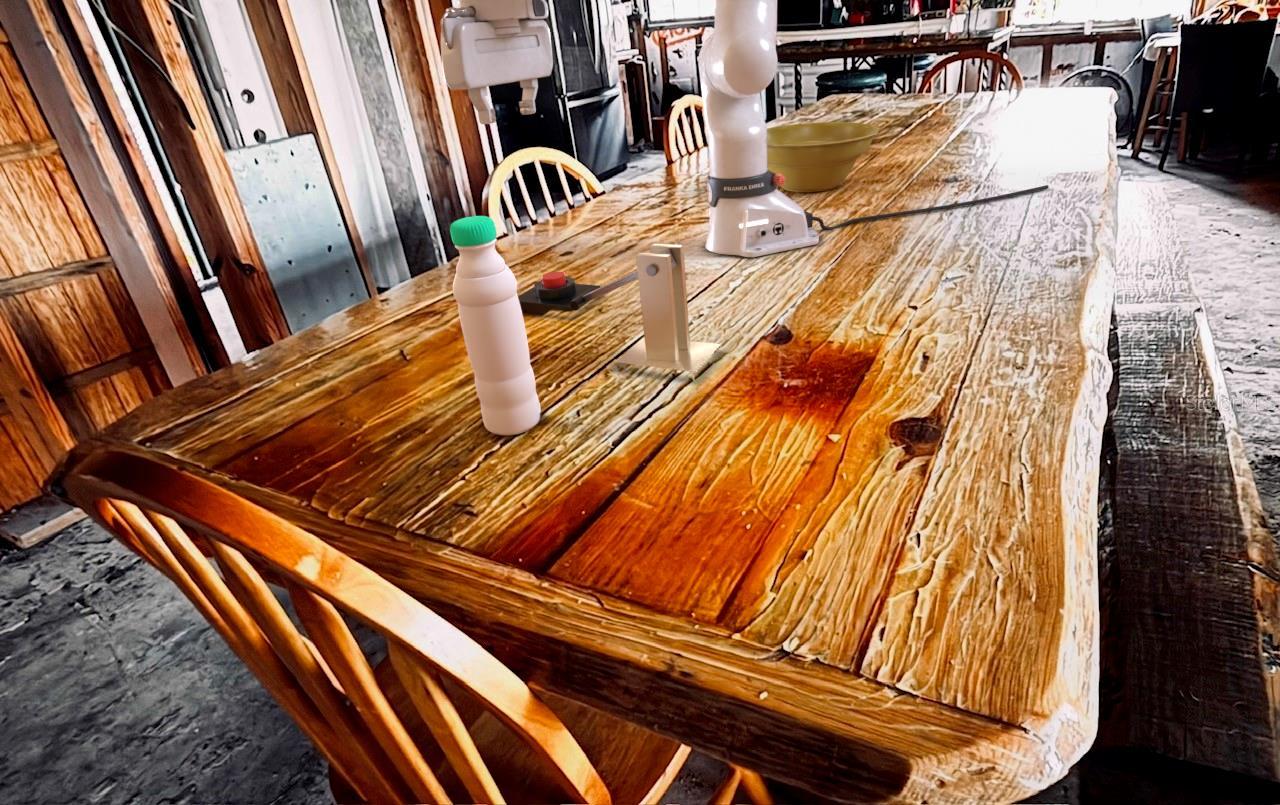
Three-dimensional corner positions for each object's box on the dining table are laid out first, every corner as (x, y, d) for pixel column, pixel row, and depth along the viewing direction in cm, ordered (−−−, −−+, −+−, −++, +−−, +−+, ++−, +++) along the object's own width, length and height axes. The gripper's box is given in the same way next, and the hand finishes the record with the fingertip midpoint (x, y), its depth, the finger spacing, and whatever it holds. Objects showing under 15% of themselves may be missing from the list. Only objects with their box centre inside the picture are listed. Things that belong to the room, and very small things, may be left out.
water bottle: (488, 412, 89) (442, 215, 77) (543, 405, 90) (506, 208, 78) (482, 441, 83) (431, 232, 71) (541, 433, 83) (501, 223, 72)
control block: (513, 312, 121) (508, 290, 119) (545, 292, 128) (541, 271, 127) (572, 318, 116) (568, 295, 114) (602, 297, 123) (599, 275, 121)
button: (538, 288, 120) (536, 278, 119) (551, 280, 123) (549, 270, 122) (558, 289, 118) (556, 279, 117) (570, 282, 121) (569, 272, 120)
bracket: (616, 370, 97) (602, 258, 89) (645, 344, 104) (634, 238, 96) (696, 381, 91) (688, 263, 84) (721, 352, 98) (716, 241, 91)
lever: (574, 315, 98) (566, 299, 97) (592, 302, 102) (584, 287, 101) (665, 274, 88) (656, 257, 88) (681, 261, 92) (673, 245, 92)
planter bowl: (892, 194, 167) (897, 134, 160) (756, 207, 168) (755, 148, 162) (856, 169, 195) (859, 117, 189) (740, 180, 197) (739, 129, 190)
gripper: (459, 5, 83) (480, 129, 90) (554, 3, 99) (566, 109, 105) (419, 9, 86) (442, 129, 92) (518, 6, 102) (531, 109, 108)
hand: (509, 118), depth 99 cm, fingers open, 8 cm apart
